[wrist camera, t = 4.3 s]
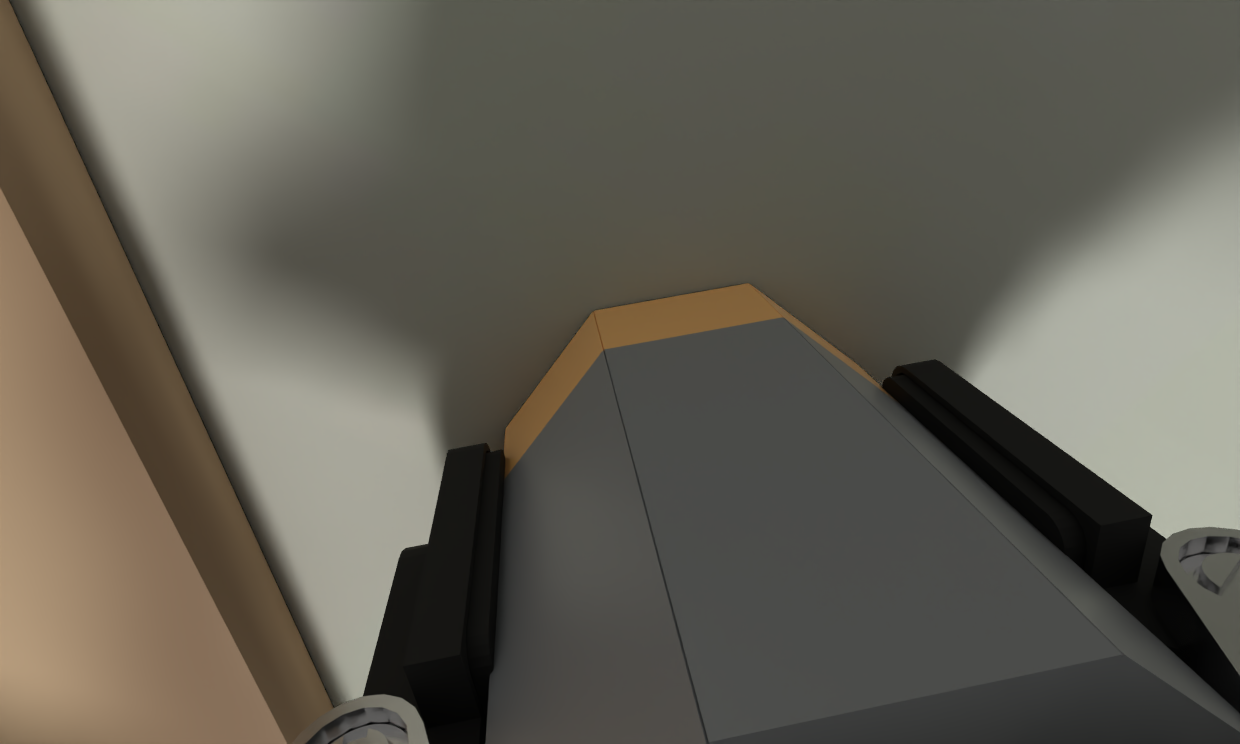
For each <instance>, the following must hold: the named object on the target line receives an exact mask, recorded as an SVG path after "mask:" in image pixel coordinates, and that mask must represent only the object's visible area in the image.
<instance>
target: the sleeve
mask: <svg viewBox="0 0 1240 744" xmlns="http://www.w3.org/2000/svg"><path fill="white" fill-rule="evenodd" d="M504 455H505V458H506V459H505V477H504V494H503V512H502V529H501V546H500V564H499V581H498V598H497V616H496V633H495V651H494V668H493V672H492V673H491V674H490V679H489V695H488V711H487V726H486V742H485V744H1240V713H1239V712H1238V711H1237V710H1236V709H1235V708H1234V707H1232V706H1231V705H1230V704H1229V703H1228V702H1227V701H1226V700H1225V699H1224V698H1223V697H1221V696H1220V695H1219V694H1218V693H1217V692H1216V691H1215V690H1214V689H1213V688H1212V687H1210V686H1209V685H1208V684H1207V683H1206V682H1205V681H1204V680H1203V679H1202V678H1201V677H1200V676H1198V675H1197V674H1196V673H1195V672H1194V671H1193V670H1192V669H1191V668H1190V667H1189V666H1187V665H1186V664H1185V663H1184V662H1183V661H1182V660H1181V659H1180V658H1179V657H1178V656H1176V655H1175V654H1174V653H1173V652H1172V651H1171V650H1170V649H1169V648H1168V647H1167V646H1165V645H1164V644H1163V643H1162V642H1161V641H1160V640H1159V639H1158V638H1157V637H1156V636H1155V635H1153V634H1152V633H1151V632H1150V631H1149V630H1148V629H1147V628H1146V627H1145V626H1144V625H1142V624H1141V623H1140V622H1139V621H1138V620H1137V619H1136V618H1135V617H1134V616H1133V615H1131V614H1130V613H1129V612H1128V611H1127V610H1126V609H1125V608H1124V607H1123V606H1122V605H1121V604H1119V603H1118V602H1117V601H1116V600H1115V599H1114V598H1113V597H1112V596H1111V595H1110V594H1108V593H1107V592H1106V591H1105V590H1104V589H1103V588H1102V587H1101V586H1100V585H1099V584H1097V583H1096V582H1095V581H1094V580H1093V579H1092V578H1091V577H1090V576H1089V575H1088V574H1086V573H1085V572H1084V571H1083V570H1082V569H1081V568H1080V567H1079V566H1078V565H1077V564H1076V563H1074V562H1073V561H1072V560H1071V559H1070V558H1069V557H1068V556H1066V555H1065V554H1064V553H1063V552H1062V551H1061V550H1059V549H1058V548H1057V547H1056V546H1055V545H1054V544H1053V543H1052V542H1051V541H1050V540H1048V539H1047V538H1046V537H1045V536H1044V535H1043V534H1042V533H1041V532H1040V531H1039V530H1038V529H1036V528H1035V527H1034V526H1033V525H1032V524H1031V523H1030V522H1029V521H1028V520H1027V519H1025V518H1024V517H1023V516H1022V515H1021V514H1020V513H1019V512H1018V511H1017V510H1016V509H1015V508H1013V507H1012V506H1011V505H1010V504H1009V503H1008V502H1007V501H1006V500H1005V499H1004V498H1002V497H1001V496H1000V495H999V494H998V493H997V492H996V491H995V490H994V489H993V488H992V487H990V486H989V485H988V484H987V483H986V482H985V481H984V480H983V479H982V478H981V477H979V476H978V475H977V474H976V473H975V472H974V471H973V470H972V469H971V468H970V467H969V466H967V465H966V464H965V463H964V462H963V461H962V460H961V459H960V458H959V457H958V456H956V455H955V454H954V453H953V452H952V451H951V450H950V449H949V448H948V447H947V446H946V445H944V444H943V443H942V442H941V441H940V440H939V439H938V438H937V437H936V436H935V435H933V434H932V433H931V432H930V431H929V430H928V429H927V428H926V427H925V426H924V425H923V424H921V423H920V422H919V421H918V420H917V419H916V418H915V417H914V416H913V415H912V414H910V413H909V412H908V411H907V410H906V409H905V408H904V407H903V406H902V405H901V404H900V403H898V402H897V401H896V400H895V399H894V398H893V397H892V396H891V395H890V394H889V393H887V392H886V391H885V390H884V389H883V388H882V387H881V386H880V385H879V384H878V383H877V382H876V381H875V380H874V379H873V378H871V377H870V376H869V375H868V374H867V373H866V372H865V371H864V370H863V369H862V368H860V367H859V366H858V365H857V364H856V363H855V362H853V361H852V360H851V359H849V358H848V357H847V356H845V355H844V354H843V353H841V352H840V351H839V350H837V349H836V348H835V347H833V346H832V345H831V344H829V343H828V342H827V341H825V340H824V339H823V338H821V337H820V336H819V335H817V334H816V333H815V332H813V331H812V330H811V329H809V328H808V327H807V326H805V325H804V324H803V323H801V322H800V321H799V320H797V319H796V318H795V317H793V316H792V315H791V314H789V313H788V312H787V311H785V310H784V309H783V308H781V307H780V306H779V305H777V304H776V303H775V302H773V301H772V300H771V299H769V298H768V297H767V296H765V295H764V294H763V293H761V292H760V291H759V290H757V289H756V288H755V287H753V286H752V285H751V284H749V283H747V284H741V285H735V286H730V287H724V288H718V289H713V290H707V291H702V292H696V293H690V294H685V295H679V296H673V297H668V298H662V299H657V300H651V301H645V302H640V303H634V304H628V305H623V306H617V307H612V308H606V309H600V310H595V311H594V312H592V313H591V314H590V316H589V317H588V318H587V320H586V321H585V323H584V324H583V325H582V327H581V328H580V329H579V331H578V332H577V333H576V335H575V336H574V337H573V339H572V340H571V341H570V343H569V344H568V345H567V347H566V348H565V349H564V351H563V352H562V353H561V355H560V356H559V357H558V359H557V360H556V361H555V363H554V364H553V365H552V367H551V368H550V370H549V371H548V372H547V374H546V375H545V376H544V378H543V379H542V380H541V382H540V383H539V384H538V386H537V387H536V388H535V390H534V391H533V392H532V394H531V395H530V396H529V398H528V399H527V400H526V402H525V403H524V404H523V406H522V407H521V408H520V410H519V411H518V412H517V414H516V415H515V417H514V418H513V419H512V421H511V422H510V423H509V425H508V426H507V427H506V429H505V442H504Z"/></svg>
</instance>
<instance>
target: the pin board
mask: <svg viewBox="0 0 1240 744" xmlns="http://www.w3.org/2000/svg"><path fill="white" fill-rule="evenodd" d="M332 709H333V706H332V704H331V701H330V699H329V697H328V695H327V693H326V691H325V688H324V686H323V684H322V682H321V680H320V678H319V675H318V673H317V671H316V669H315V667H314V664H313V662H312V660H311V658H310V656H309V654H308V651H307V649H306V647H305V645H304V643H303V640H302V638H301V636H300V634H299V632H298V630H297V627H296V625H295V623H294V621H293V619H292V616H291V614H290V612H289V610H288V608H287V606H286V603H285V601H284V599H283V597H282V595H281V593H280V590H279V588H278V586H277V584H276V582H275V579H274V577H273V575H272V573H271V571H270V569H269V566H268V564H267V562H266V560H265V558H264V555H263V553H262V551H261V549H260V547H259V545H258V542H257V540H256V538H255V536H254V534H253V532H252V529H251V527H250V525H249V523H248V521H247V518H246V516H245V514H244V512H243V510H242V508H241V505H240V503H239V501H238V499H237V497H236V494H235V492H234V490H233V488H232V486H231V484H230V481H229V479H228V477H227V475H226V473H225V470H224V468H223V466H222V464H221V462H220V460H219V457H218V455H217V453H216V451H215V449H214V447H213V444H212V442H211V440H210V438H209V436H208V433H207V431H206V429H205V427H204V425H203V423H202V420H201V418H200V416H199V414H198V412H197V409H196V407H195V405H194V403H193V401H192V399H191V396H190V394H189V392H188V390H187V388H186V386H185V383H184V381H183V379H182V377H181V375H180V372H179V370H178V368H177V366H176V364H175V362H174V359H173V357H172V355H171V353H170V351H169V348H168V346H167V344H166V342H165V340H164V338H163V335H162V333H161V331H160V329H159V327H158V324H157V322H156V320H155V318H154V316H153V314H152V311H151V309H150V307H149V305H148V303H147V301H146V298H145V296H144V294H143V292H142V290H141V287H140V285H139V283H138V281H137V279H136V277H135V274H134V272H133V270H132V268H131V266H130V263H129V261H128V259H127V257H126V255H125V253H124V250H123V248H122V246H121V244H120V242H119V240H118V237H117V235H116V233H115V231H114V229H113V226H112V224H111V222H110V220H109V218H108V216H107V213H106V211H105V209H104V207H103V205H102V202H101V200H100V198H99V196H98V194H97V192H96V189H95V187H94V185H93V183H92V181H91V178H90V176H89V174H88V172H87V170H86V168H85V165H84V163H83V161H82V159H81V157H80V155H79V152H78V150H77V148H76V146H75V144H74V141H73V139H72V137H71V135H70V133H69V131H68V128H67V126H66V124H65V122H64V120H63V117H62V115H61V113H60V111H59V109H58V107H57V104H56V102H55V100H54V98H53V96H52V94H51V91H50V89H49V87H48V85H47V83H46V80H45V78H44V76H43V74H42V72H41V70H40V67H39V65H38V63H37V61H36V59H35V56H34V54H33V52H32V50H31V48H30V46H29V43H28V41H27V39H26V37H25V35H24V32H23V30H22V28H21V26H20V24H19V22H18V19H17V17H16V15H15V13H14V11H13V9H12V6H11V4H10V2H9V0H0V744H292V743H293V742H294V740H295V739H296V738H297V737H298V735H299V734H300V733H301V732H302V731H303V730H305V729H306V728H307V727H308V726H309V725H310V724H312V723H313V722H314V721H315V720H316V719H317V718H319V717H320V716H321V715H323V714H325V713H327V712H328V711H330V710H332Z"/></svg>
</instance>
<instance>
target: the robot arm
mask: <svg viewBox="0 0 1240 744" xmlns="http://www.w3.org/2000/svg"><path fill="white" fill-rule="evenodd" d="M882 388H883V389H884V390H885V391H886V392H887V393H889V394H890V395H891V396H892V397H893V398H894V399H895V400H896V401H897V402H898V403H900V404H901V405H902V406H903V407H904V408H905V409H906V410H907V411H908V412H909V413H910V414H912V415H913V416H914V417H915V418H916V419H917V420H918V421H919V422H920V423H921V424H923V425H924V426H925V427H926V428H927V429H928V430H929V431H930V432H931V433H932V434H933V435H935V436H936V437H937V438H938V439H939V440H940V441H941V442H942V443H943V444H944V445H946V446H947V447H948V448H949V449H950V450H951V451H952V452H953V453H954V454H955V455H956V456H958V457H959V458H960V459H961V460H962V461H963V462H964V463H965V464H966V465H967V466H969V467H970V468H971V469H972V470H973V471H974V472H975V473H976V474H977V475H978V476H979V477H981V478H982V479H983V480H984V481H985V482H986V483H987V484H988V485H989V486H990V487H992V488H993V489H994V490H995V491H996V492H997V493H998V494H999V495H1000V496H1001V497H1002V498H1004V499H1005V500H1006V501H1007V502H1008V503H1009V504H1010V505H1011V506H1012V507H1013V508H1015V509H1016V510H1017V511H1018V512H1019V513H1020V514H1021V515H1022V516H1023V517H1024V518H1025V519H1027V520H1028V521H1029V522H1030V523H1031V524H1032V525H1033V526H1034V527H1035V528H1036V529H1038V530H1039V531H1040V532H1041V533H1042V534H1043V535H1044V536H1045V537H1046V538H1047V539H1048V540H1050V541H1051V542H1052V543H1053V544H1054V545H1055V546H1056V547H1057V548H1058V549H1059V550H1061V551H1062V552H1063V553H1064V554H1065V555H1066V556H1068V557H1069V558H1070V559H1071V560H1072V561H1073V562H1074V563H1076V564H1077V565H1078V566H1079V567H1080V568H1081V569H1082V570H1083V571H1084V572H1085V573H1086V574H1088V575H1089V576H1090V577H1091V578H1092V579H1093V580H1094V581H1095V582H1096V583H1097V584H1099V585H1100V586H1101V587H1102V588H1103V589H1104V590H1105V591H1106V592H1107V593H1108V594H1110V595H1111V596H1112V597H1113V598H1114V599H1115V600H1116V601H1117V602H1118V603H1119V604H1121V605H1122V606H1123V607H1124V608H1125V609H1126V610H1127V611H1128V612H1129V613H1130V614H1131V615H1133V616H1134V617H1135V618H1136V619H1137V620H1138V621H1139V622H1140V623H1141V624H1142V625H1144V626H1145V627H1146V628H1147V629H1148V630H1149V631H1150V632H1151V633H1152V634H1153V635H1155V636H1156V637H1157V638H1158V639H1159V640H1160V641H1161V642H1162V643H1163V644H1164V645H1165V646H1167V647H1168V648H1169V649H1170V650H1171V651H1172V652H1173V653H1174V654H1175V655H1176V656H1178V657H1179V658H1180V659H1181V660H1182V661H1183V662H1184V663H1185V664H1186V665H1187V666H1189V667H1190V668H1191V669H1192V670H1193V671H1194V672H1195V673H1196V674H1197V675H1198V676H1200V677H1201V678H1202V679H1203V680H1204V681H1205V682H1206V683H1207V684H1208V685H1209V686H1210V687H1212V688H1213V689H1214V690H1215V691H1216V692H1217V693H1218V694H1219V695H1220V696H1221V697H1223V698H1224V699H1225V700H1226V701H1227V702H1228V703H1229V704H1230V705H1231V706H1232V707H1234V708H1235V709H1236V710H1237V711H1238V712H1239V713H1240V530H1236V529H1226V528H1216V527H1203V528H1189V529H1186V530H1183V531H1180V532H1177V533H1174V534H1172V535H1171V536H1170V537H1169V538H1167V539H1165V538H1164V537H1163V536H1161V535H1160V534H1159V533H1157V532H1156V531H1155V530H1153V529H1152V528H1151V527H1150V523H1151V519H1152V515H1151V514H1150V513H1149V512H1147V511H1146V510H1144V509H1143V508H1142V507H1140V506H1139V505H1138V504H1136V503H1135V502H1133V501H1132V500H1131V499H1129V498H1128V497H1126V496H1125V495H1124V494H1122V493H1121V492H1120V491H1118V490H1117V489H1115V488H1114V487H1113V486H1111V485H1110V484H1108V483H1107V482H1106V481H1104V480H1103V479H1102V478H1100V477H1099V476H1097V475H1096V474H1095V473H1093V472H1092V471H1091V470H1089V469H1088V468H1086V467H1085V466H1084V465H1082V464H1081V463H1079V462H1078V461H1077V460H1075V459H1074V458H1073V457H1071V456H1070V455H1068V454H1067V453H1066V452H1064V451H1063V450H1061V449H1060V448H1059V447H1057V446H1056V445H1055V444H1053V443H1052V442H1050V441H1049V440H1048V439H1046V438H1045V437H1043V436H1042V435H1041V434H1039V433H1038V432H1037V431H1035V430H1034V429H1032V428H1031V427H1030V426H1028V425H1027V424H1026V423H1024V422H1023V421H1021V420H1020V419H1019V418H1017V417H1016V416H1014V415H1013V414H1012V413H1010V412H1009V411H1008V410H1006V409H1005V408H1003V407H1002V406H1001V405H999V404H998V403H996V402H995V401H994V400H992V399H991V398H990V397H988V396H987V395H985V394H984V393H983V392H981V391H980V390H978V389H977V388H976V387H974V386H973V385H972V384H970V383H969V382H967V381H966V380H965V379H963V378H962V377H960V376H959V375H958V374H956V373H955V372H954V371H952V370H951V369H949V368H948V367H947V366H945V365H944V364H943V363H941V362H939V361H937V360H929V361H924V362H918V363H913V364H908V365H902V366H897V367H896V368H895V369H894V371H893V374H892V377H889V378H886V379H885V380H884V382H883V386H882ZM505 459H506V458H505V455H504V452H503V451H502V450H499V451H493V452H490V449H489V446H488V445H487V443H483V444H478V445H473V446H467V447H462V448H457V449H451V450H448V453H447V457H446V461H445V466H444V471H443V476H442V481H441V485H440V490H439V495H438V500H437V505H436V509H435V514H434V519H433V524H432V529H431V533H430V538H429V543H428V544H425V545H420V546H414V547H409V548H405V549H404V550H403V551H402V552H401V555H400V557H399V560H398V564H397V568H396V572H395V576H394V580H393V583H392V587H391V591H390V595H389V599H388V602H387V606H386V610H385V614H384V618H383V622H382V625H381V629H380V633H379V637H378V641H377V645H376V648H375V652H374V656H373V660H372V664H371V667H370V671H369V675H368V679H367V683H366V687H365V690H364V694H363V697H360V698H357V699H354V700H351V701H348V702H345V703H342V704H340V705H339V706H337V707H335V708H333V709H332V710H330V711H328V712H327V713H325V714H323V715H321V716H320V717H319V718H317V719H316V720H315V721H314V722H313V723H312V724H310V725H309V726H308V727H307V728H306V729H305V730H303V731H302V732H301V733H300V734H299V735H298V737H297V738H296V739H295V740H294V742H293V743H292V744H485V742H486V726H487V711H488V695H489V679H490V674H491V673H492V672H493V668H494V651H495V633H496V616H497V598H498V581H499V564H500V546H501V529H502V512H503V494H504V477H505Z"/></svg>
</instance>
